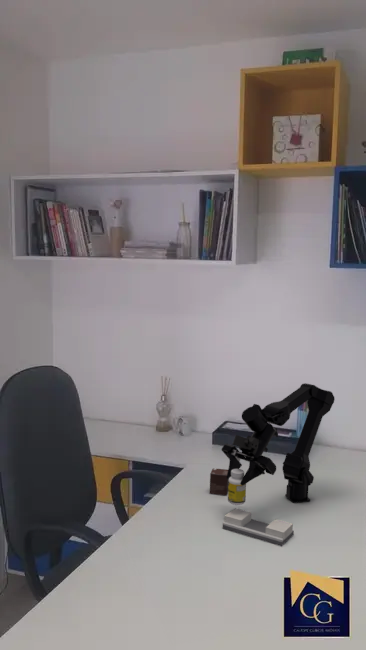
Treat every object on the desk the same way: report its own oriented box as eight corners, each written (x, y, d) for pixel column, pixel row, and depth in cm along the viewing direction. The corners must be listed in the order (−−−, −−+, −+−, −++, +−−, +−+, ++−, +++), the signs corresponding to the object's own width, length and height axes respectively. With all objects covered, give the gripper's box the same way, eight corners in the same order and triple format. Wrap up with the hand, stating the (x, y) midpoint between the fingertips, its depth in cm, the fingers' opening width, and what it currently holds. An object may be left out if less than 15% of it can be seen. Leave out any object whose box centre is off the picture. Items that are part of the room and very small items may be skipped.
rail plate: (222, 528, 182) (223, 516, 182) (236, 518, 190) (236, 507, 190) (281, 546, 172) (282, 533, 172) (293, 534, 180) (294, 522, 180)
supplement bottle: (225, 499, 188) (226, 468, 187) (241, 497, 190) (242, 467, 188) (231, 506, 183) (232, 474, 182) (248, 504, 185) (249, 473, 183)
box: (226, 496, 208) (227, 475, 207) (209, 494, 209) (209, 473, 208) (228, 489, 214) (229, 469, 213) (211, 487, 215) (212, 467, 214)
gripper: (226, 418, 193) (200, 459, 187) (271, 432, 179) (245, 476, 173) (242, 438, 199) (217, 478, 193) (287, 452, 185) (262, 496, 179)
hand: (234, 481), depth 185 cm, fingers closed on supplement bottle, 5 cm apart
